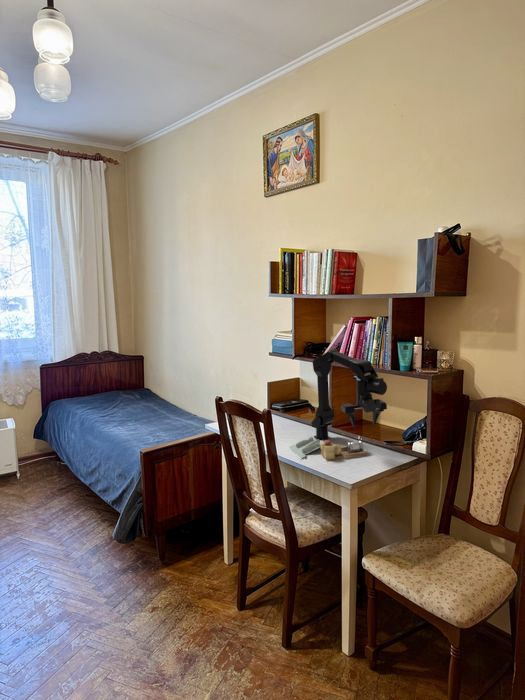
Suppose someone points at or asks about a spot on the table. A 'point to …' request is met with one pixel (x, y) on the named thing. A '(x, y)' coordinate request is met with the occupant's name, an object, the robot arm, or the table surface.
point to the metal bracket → (305, 447)
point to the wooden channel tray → (337, 452)
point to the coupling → (354, 447)
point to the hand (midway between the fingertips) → (364, 425)
